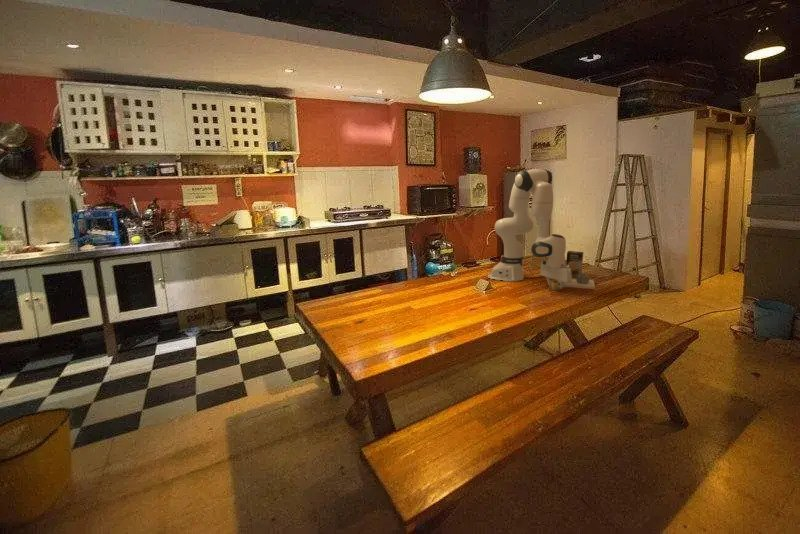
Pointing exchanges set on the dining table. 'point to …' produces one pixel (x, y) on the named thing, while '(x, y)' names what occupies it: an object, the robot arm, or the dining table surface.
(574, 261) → the coffee box
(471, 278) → the dining table surface
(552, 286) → the brass gear
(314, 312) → the dining table surface
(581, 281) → the gear board
